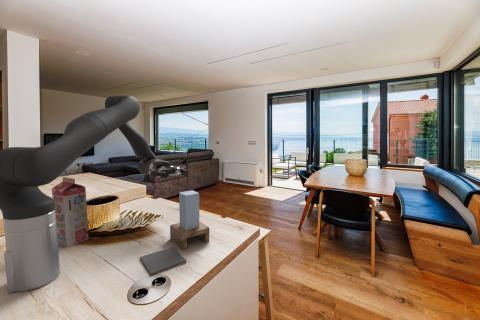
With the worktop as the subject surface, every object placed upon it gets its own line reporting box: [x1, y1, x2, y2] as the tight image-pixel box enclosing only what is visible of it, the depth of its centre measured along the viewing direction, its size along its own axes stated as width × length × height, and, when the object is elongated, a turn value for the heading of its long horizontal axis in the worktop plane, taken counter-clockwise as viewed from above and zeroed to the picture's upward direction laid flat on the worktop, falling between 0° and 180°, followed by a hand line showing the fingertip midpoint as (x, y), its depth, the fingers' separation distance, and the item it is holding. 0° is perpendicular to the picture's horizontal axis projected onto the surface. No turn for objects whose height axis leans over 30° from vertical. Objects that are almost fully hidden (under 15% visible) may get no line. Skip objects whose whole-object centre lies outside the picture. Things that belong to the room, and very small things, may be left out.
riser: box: [169, 220, 210, 251], centre depth 77 cm, size 10×10×5 cm
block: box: [178, 189, 200, 231], centre depth 76 cm, size 5×5×12 cm
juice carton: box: [51, 176, 89, 248], centre depth 75 cm, size 7×7×22 cm
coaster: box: [139, 246, 187, 276], centre depth 65 cm, size 10×10×1 cm
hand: (175, 174), depth 84 cm, fingers open, 8 cm apart
